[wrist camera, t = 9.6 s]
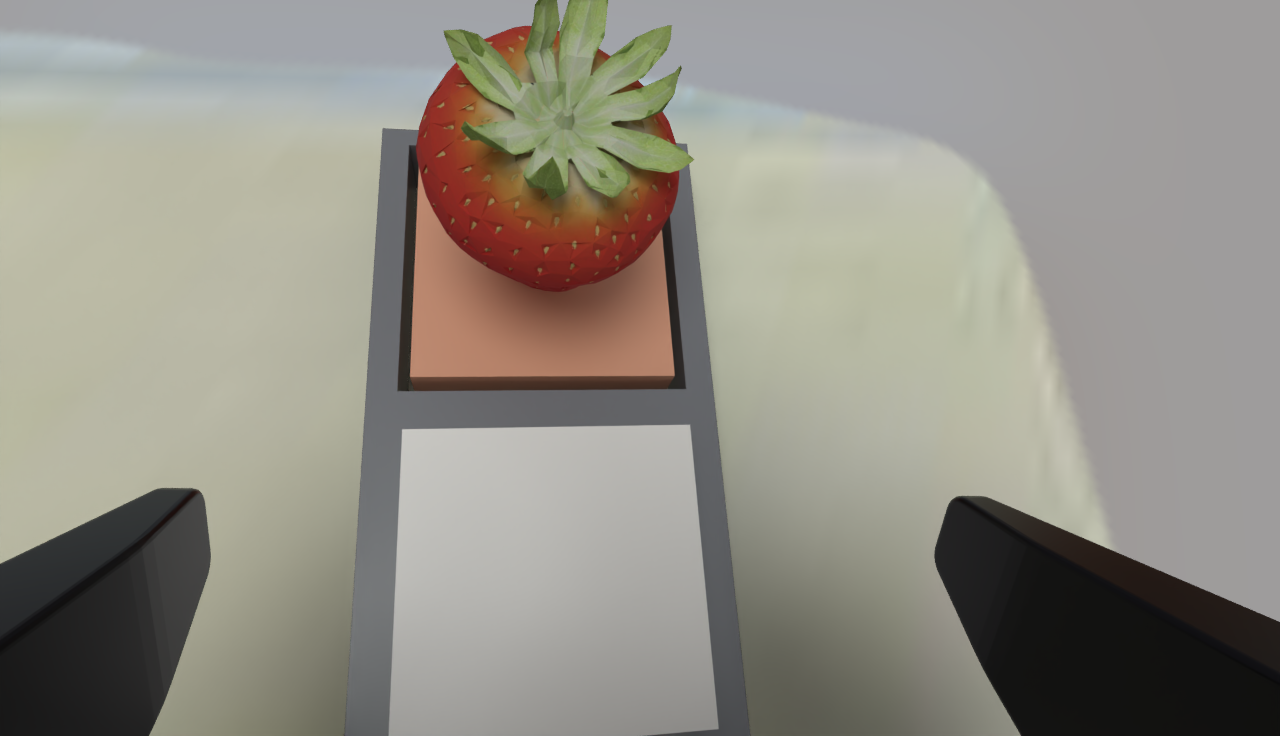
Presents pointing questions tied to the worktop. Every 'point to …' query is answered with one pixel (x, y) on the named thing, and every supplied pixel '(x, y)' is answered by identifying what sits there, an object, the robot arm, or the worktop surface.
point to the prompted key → (533, 324)
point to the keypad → (540, 533)
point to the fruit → (552, 148)
